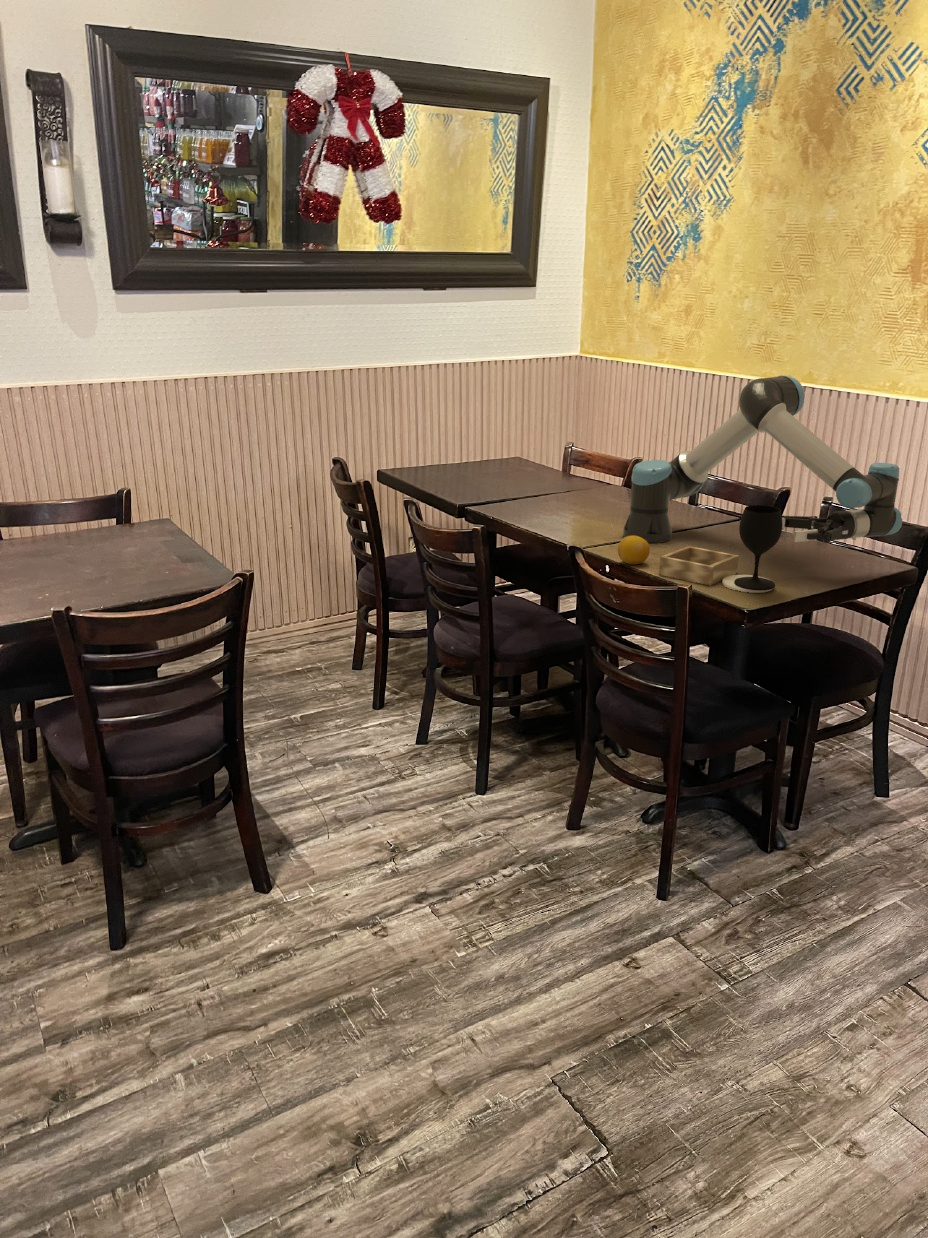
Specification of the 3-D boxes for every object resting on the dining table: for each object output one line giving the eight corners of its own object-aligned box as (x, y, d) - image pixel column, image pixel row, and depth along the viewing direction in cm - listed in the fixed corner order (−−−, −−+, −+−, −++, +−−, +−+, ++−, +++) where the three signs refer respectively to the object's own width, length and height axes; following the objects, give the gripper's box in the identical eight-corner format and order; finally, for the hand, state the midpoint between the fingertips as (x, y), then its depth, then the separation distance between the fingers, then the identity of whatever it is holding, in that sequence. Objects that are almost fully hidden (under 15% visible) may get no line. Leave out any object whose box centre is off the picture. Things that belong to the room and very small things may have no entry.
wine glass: (776, 591, 241) (785, 515, 234) (734, 588, 243) (741, 512, 236) (774, 579, 250) (783, 505, 243) (733, 576, 253) (740, 503, 246)
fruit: (632, 558, 275) (634, 531, 272) (654, 564, 269) (655, 536, 266) (611, 563, 270) (612, 535, 267) (632, 569, 264) (634, 541, 261)
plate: (713, 585, 249) (713, 582, 249) (736, 575, 258) (736, 571, 258) (759, 596, 241) (760, 592, 240) (782, 584, 250) (782, 581, 250)
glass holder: (658, 574, 259) (660, 556, 257) (687, 563, 270) (688, 545, 268) (710, 585, 249) (711, 567, 248) (737, 573, 260) (739, 555, 258)
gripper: (877, 549, 243) (807, 556, 237) (815, 527, 265) (749, 533, 259) (881, 521, 240) (810, 527, 234) (818, 501, 263) (752, 506, 257)
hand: (778, 530), depth 247 cm, fingers open, 13 cm apart
